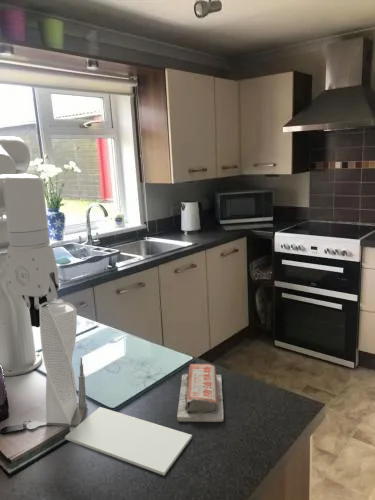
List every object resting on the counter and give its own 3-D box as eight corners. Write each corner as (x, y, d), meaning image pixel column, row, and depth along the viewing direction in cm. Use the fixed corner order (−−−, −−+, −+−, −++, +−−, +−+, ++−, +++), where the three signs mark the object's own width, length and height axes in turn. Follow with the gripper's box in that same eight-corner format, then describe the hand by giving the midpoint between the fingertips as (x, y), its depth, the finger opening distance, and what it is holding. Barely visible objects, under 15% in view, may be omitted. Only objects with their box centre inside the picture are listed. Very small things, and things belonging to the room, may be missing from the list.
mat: (65, 439, 83) (64, 436, 83) (100, 409, 93) (99, 406, 92) (164, 475, 73) (164, 472, 73) (191, 437, 82) (191, 435, 82)
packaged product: (181, 361, 104) (221, 361, 103) (182, 378, 105) (221, 378, 104) (176, 403, 86) (223, 403, 86) (176, 423, 87) (224, 424, 87)
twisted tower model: (77, 431, 86) (74, 306, 78) (38, 429, 85) (31, 304, 78) (87, 405, 94) (85, 290, 86) (51, 403, 93) (45, 288, 86)
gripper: (-12, 240, 83) (0, 325, 87) (42, 244, 76) (53, 337, 80) (18, 233, 89) (28, 313, 93) (71, 236, 82) (79, 323, 86)
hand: (40, 324), depth 86 cm, fingers closed
